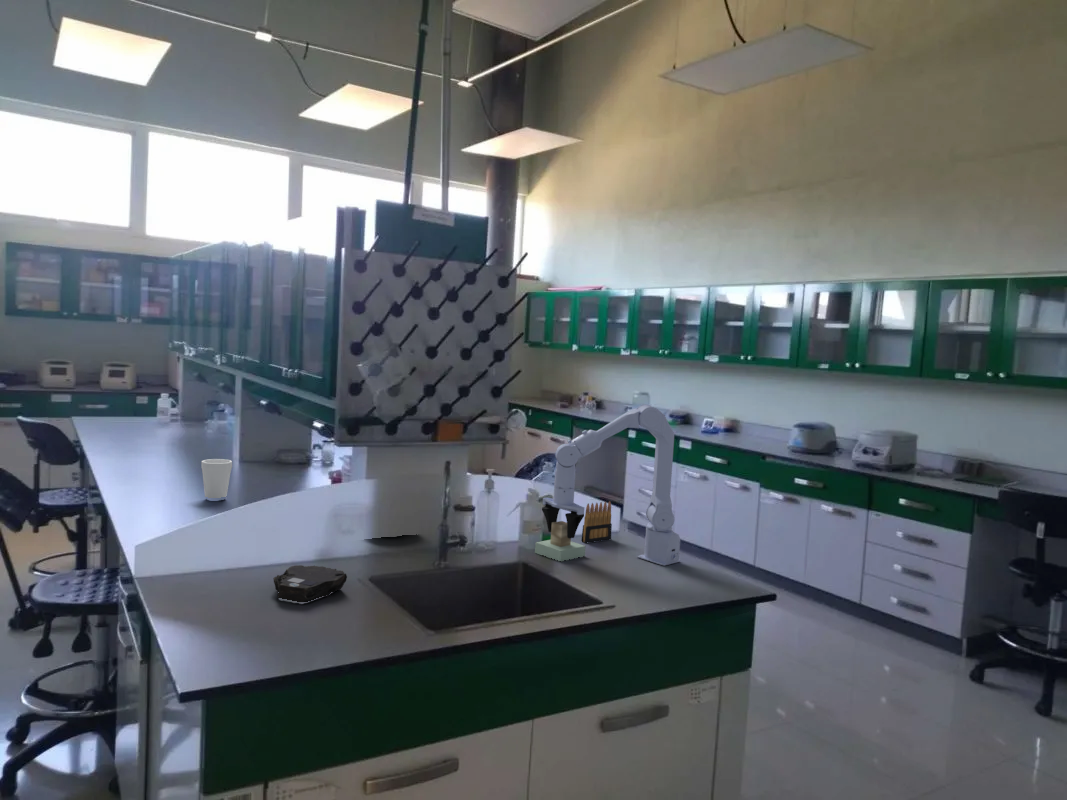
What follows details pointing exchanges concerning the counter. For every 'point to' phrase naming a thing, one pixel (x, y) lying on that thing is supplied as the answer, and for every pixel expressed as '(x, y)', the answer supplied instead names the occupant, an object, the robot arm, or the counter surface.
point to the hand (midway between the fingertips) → (561, 534)
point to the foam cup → (216, 477)
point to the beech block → (559, 534)
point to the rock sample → (308, 582)
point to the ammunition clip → (597, 523)
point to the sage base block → (560, 550)
